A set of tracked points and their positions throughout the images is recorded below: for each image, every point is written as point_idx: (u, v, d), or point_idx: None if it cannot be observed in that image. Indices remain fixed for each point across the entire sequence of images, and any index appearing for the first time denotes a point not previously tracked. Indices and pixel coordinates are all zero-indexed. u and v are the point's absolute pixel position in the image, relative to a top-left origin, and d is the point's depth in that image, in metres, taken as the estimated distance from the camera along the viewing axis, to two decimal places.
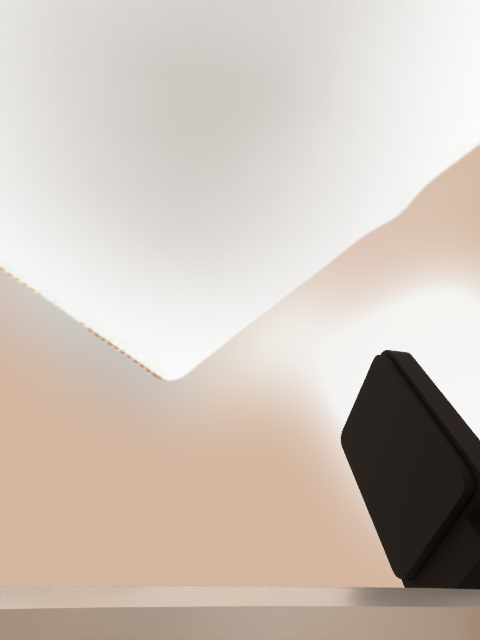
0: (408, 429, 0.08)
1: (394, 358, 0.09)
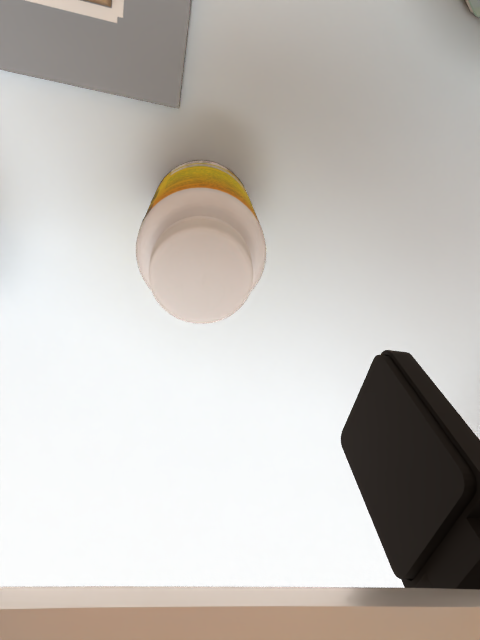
0: (408, 429, 0.08)
1: (394, 358, 0.09)
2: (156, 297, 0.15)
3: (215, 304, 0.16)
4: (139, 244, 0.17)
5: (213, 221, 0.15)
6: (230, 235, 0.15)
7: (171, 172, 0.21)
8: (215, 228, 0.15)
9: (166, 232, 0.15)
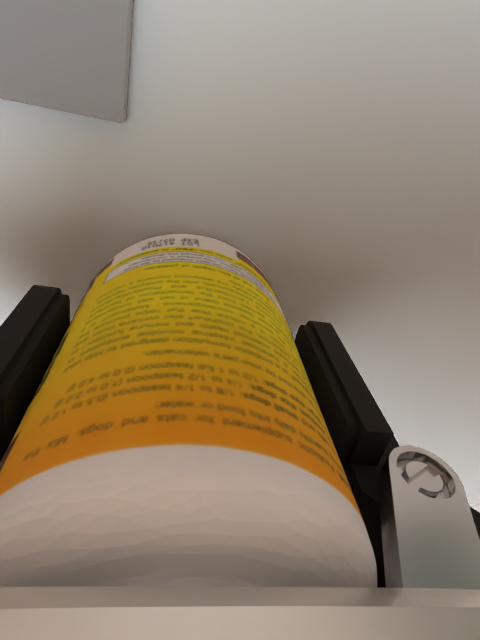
0: (316, 390, 0.09)
1: (313, 327, 0.10)
2: None
3: None
4: None
5: None
6: None
7: (111, 267, 0.09)
8: None
9: None
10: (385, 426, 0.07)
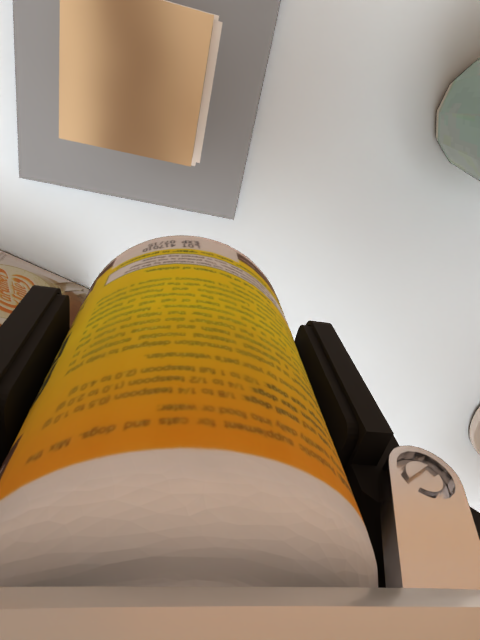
0: (316, 390, 0.09)
1: (313, 327, 0.10)
2: None
3: None
4: None
5: None
6: None
7: (112, 269, 0.10)
8: None
9: None
10: (385, 426, 0.07)
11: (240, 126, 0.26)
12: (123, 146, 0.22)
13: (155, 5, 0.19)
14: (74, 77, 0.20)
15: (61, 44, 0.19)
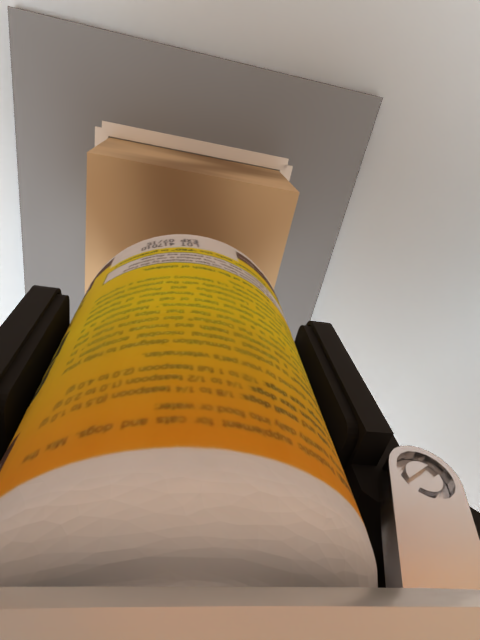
0: (316, 390, 0.09)
1: (313, 327, 0.10)
2: None
3: None
4: None
5: None
6: None
7: (111, 267, 0.09)
8: None
9: None
10: (385, 427, 0.07)
11: (307, 278, 0.20)
12: None
13: (219, 185, 0.14)
14: None
15: (88, 236, 0.14)
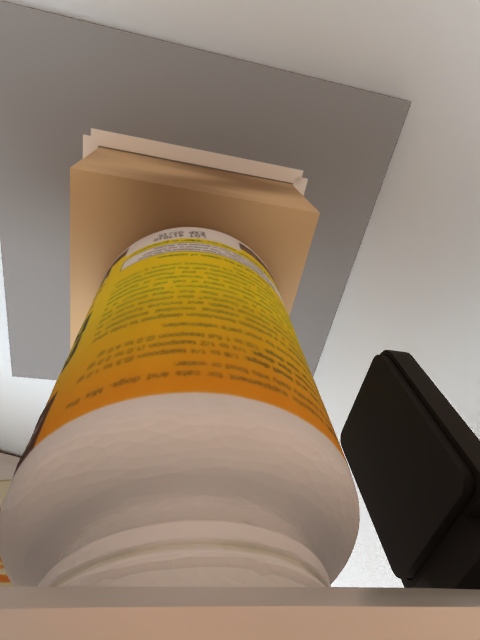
0: (407, 429, 0.08)
1: (393, 358, 0.09)
2: None
3: None
4: (1, 550, 0.06)
5: (223, 571, 0.04)
6: None
7: (126, 257, 0.10)
8: None
9: None
10: None
11: (322, 301, 0.18)
12: None
13: (226, 205, 0.12)
14: None
15: (73, 264, 0.12)
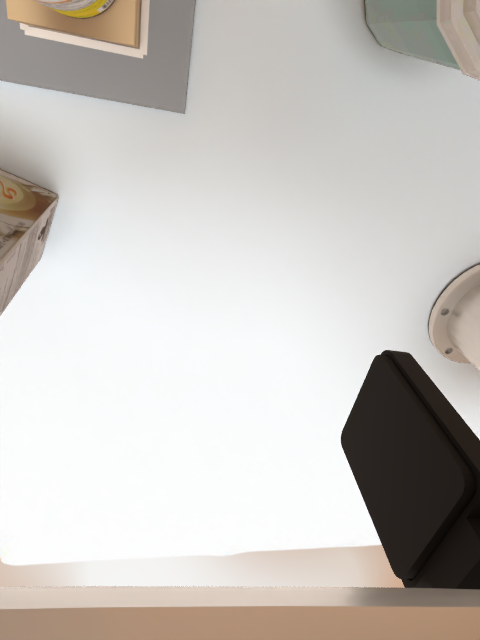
0: (408, 429, 0.08)
1: (394, 358, 0.09)
2: None
3: None
4: None
5: None
6: None
7: None
8: None
9: None
10: None
11: (181, 15, 0.27)
12: (68, 25, 0.24)
13: None
14: None
15: None
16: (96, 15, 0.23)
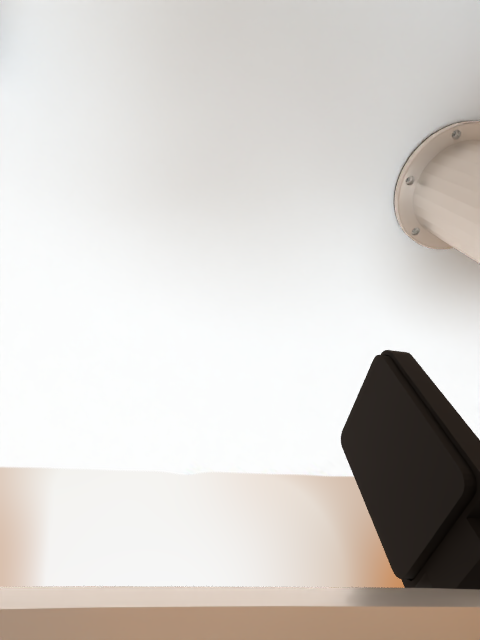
0: (408, 429, 0.08)
1: (394, 358, 0.09)
2: None
3: None
4: None
5: None
6: None
7: None
8: None
9: None
10: None
11: None
12: None
13: None
14: None
15: None
16: None
